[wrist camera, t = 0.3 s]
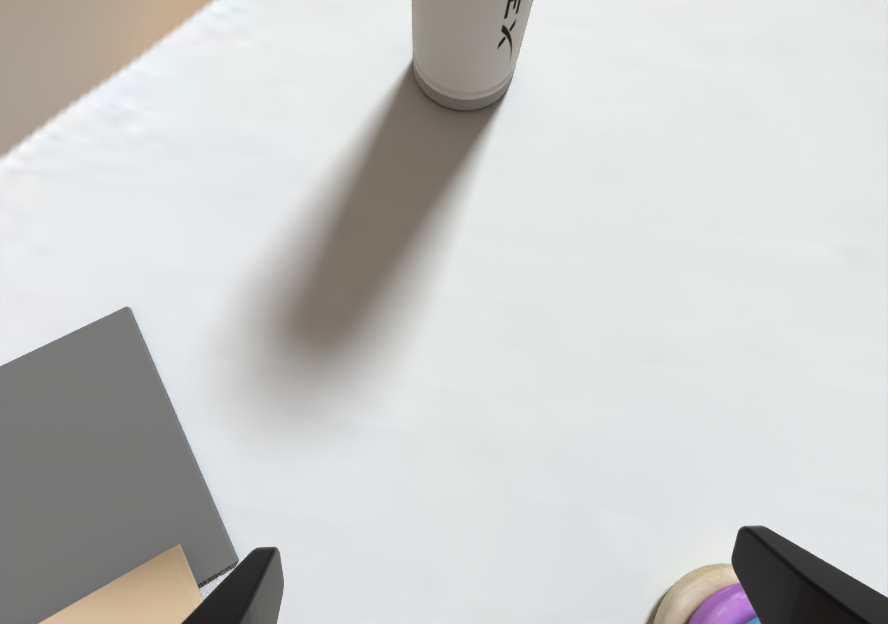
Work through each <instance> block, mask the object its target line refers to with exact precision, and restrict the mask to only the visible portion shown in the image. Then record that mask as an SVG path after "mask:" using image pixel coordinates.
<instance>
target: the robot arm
mask: <svg viewBox="0 0 888 624" xmlns="http://www.w3.org/2000/svg"><path fill="white" fill-rule="evenodd" d="M732 566H733V569H734V572H735V574H736V576H737V578H738V580H739V582H740V584H741V586H742V588H743V590H744V592H745V594H746V596H747V598H748V600H749V602H750V604H751V605H752V607H753V609H754V611H755V613H756V615H757V617H758V619H759V621H760V623H761V624H888V598H887V597H886V596H884V595H882V594H881V593H879V592H877V591H875V590H874V589H872V588H870V587H868V586H867V585H865V584H863V583H862V582H860V581H858V580H856V579H855V578H853V577H851V576H849V575H848V574H846V573H844V572H843V571H841V570H839V569H837V568H836V567H834V566H832V565H830V564H829V563H827V562H825V561H824V560H822V559H820V558H818V557H817V556H815V555H813V554H811V553H810V552H808V551H806V550H805V549H803V548H801V547H799V546H798V545H796V544H794V543H792V542H791V541H789V540H787V539H786V538H784V537H782V536H780V535H779V534H777V533H775V532H773V531H772V530H770V529H768V528H766V527H764V526H743V527H741V528H740V529H739V531H738V534H737V538H736V542H735V546H734V549H733V553H732ZM283 588H284V578H283V571H282V565H281V558H280V552H279V550H278V548H276V547H260V548H256V549H254V550H253V551H252V552H251V553H250V554H249V555H248V556H247V557H246V558H245V559H244V560H243V561H242V562H241V563H240V564H239V565H238V566H237V567H236V568H235V569H234V570H233V571H232V572H231V573H230V574H229V575H228V576H227V577H226V578H225V579H224V580H223V581H222V582H221V583H220V584H219V585H218V586H217V587H216V588H215V589H214V590H213V591H212V592H211V593H210V594H209V596H208V597H207V598H206V599H205V600H204V601H203V602H202V603H201V604H200V605H199V606H198V607H197V608H196V609H195V610H194V611H193V612H192V613H191V614H190V615H189V616H188V617H187V618H186V619H185V620H184V621H183V622H182V623H181V624H277V620H278V615H279V610H280V605H281V600H282V595H283Z"/></svg>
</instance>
